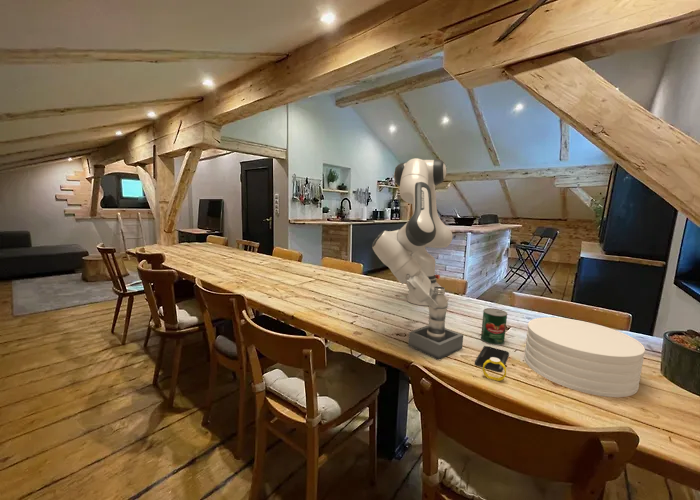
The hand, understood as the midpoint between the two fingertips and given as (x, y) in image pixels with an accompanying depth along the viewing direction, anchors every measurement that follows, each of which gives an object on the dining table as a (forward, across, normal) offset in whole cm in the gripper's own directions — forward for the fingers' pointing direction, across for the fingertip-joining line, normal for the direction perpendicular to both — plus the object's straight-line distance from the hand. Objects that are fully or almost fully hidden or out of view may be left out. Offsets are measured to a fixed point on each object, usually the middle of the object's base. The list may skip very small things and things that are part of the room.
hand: (436, 302), depth 105 cm
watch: (+23, -15, -1) cm, 28 cm away
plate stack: (+42, -1, -18) cm, 45 cm away
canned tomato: (+26, +13, -3) cm, 29 cm away
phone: (+24, -3, -1) cm, 25 cm away
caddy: (+12, 0, +11) cm, 16 cm away
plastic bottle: (+11, 0, +10) cm, 15 cm away
